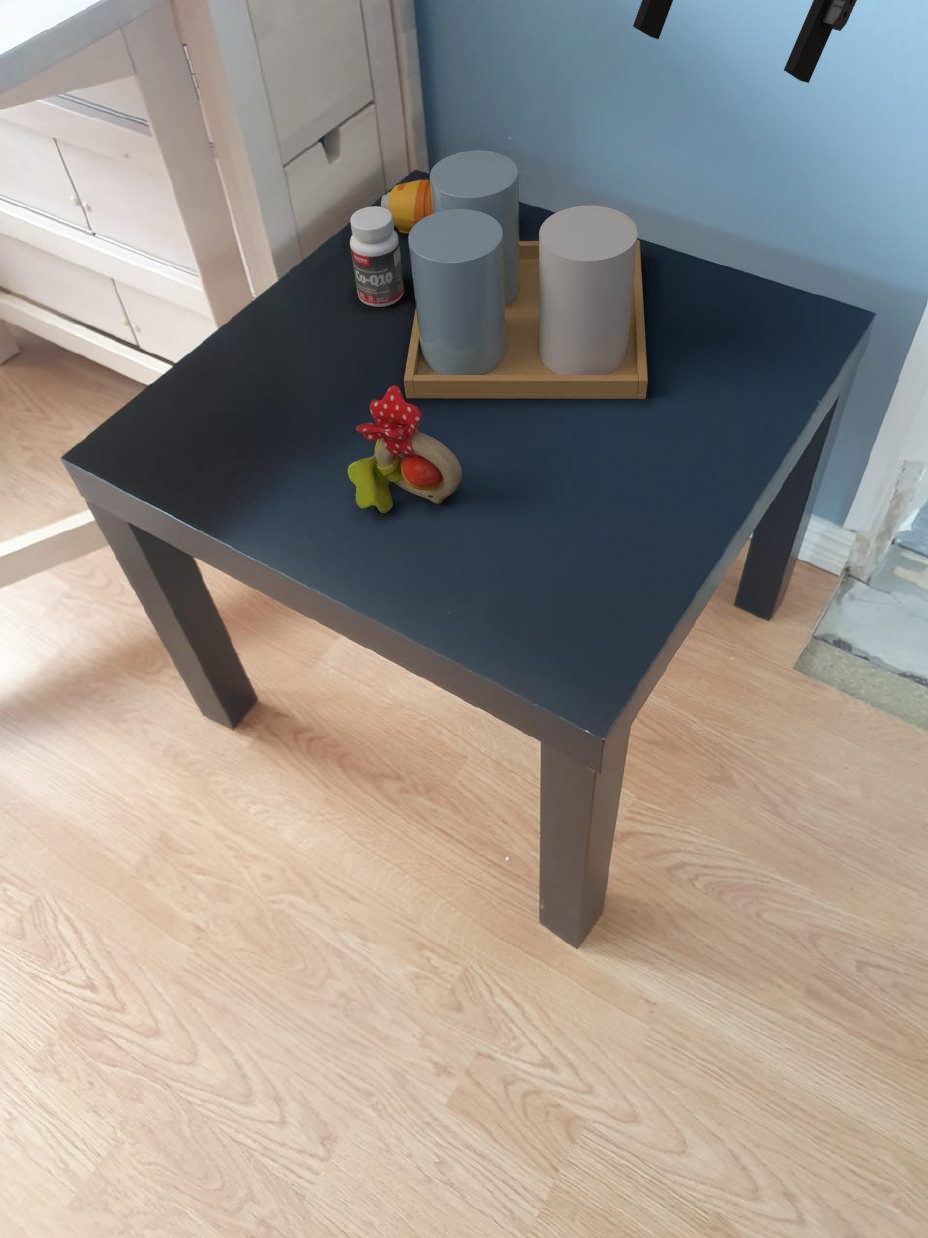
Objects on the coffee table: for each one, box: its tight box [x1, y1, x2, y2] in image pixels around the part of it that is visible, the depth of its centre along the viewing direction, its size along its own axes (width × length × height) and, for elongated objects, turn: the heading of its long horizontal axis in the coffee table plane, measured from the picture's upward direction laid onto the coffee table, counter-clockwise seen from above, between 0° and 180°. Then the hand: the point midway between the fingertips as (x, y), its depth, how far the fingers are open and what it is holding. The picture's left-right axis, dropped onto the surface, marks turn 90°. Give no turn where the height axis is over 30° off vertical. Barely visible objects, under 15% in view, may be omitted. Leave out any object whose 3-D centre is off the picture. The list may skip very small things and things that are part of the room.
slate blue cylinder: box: [407, 209, 506, 375], centre depth 89 cm, size 8×8×12 cm
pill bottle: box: [349, 205, 405, 308], centre depth 97 cm, size 5×5×8 cm
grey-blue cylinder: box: [429, 149, 520, 306], centre depth 94 cm, size 8×8×12 cm
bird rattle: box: [347, 384, 463, 514], centre depth 79 cm, size 6×11×9 cm
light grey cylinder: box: [538, 205, 639, 375], centre depth 88 cm, size 8×8×12 cm
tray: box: [403, 239, 649, 400], centre depth 95 cm, size 22×22×2 cm
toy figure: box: [380, 179, 433, 235], centre depth 104 cm, size 5×6×12 cm
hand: (717, 54), depth 73 cm, fingers open, 13 cm apart
